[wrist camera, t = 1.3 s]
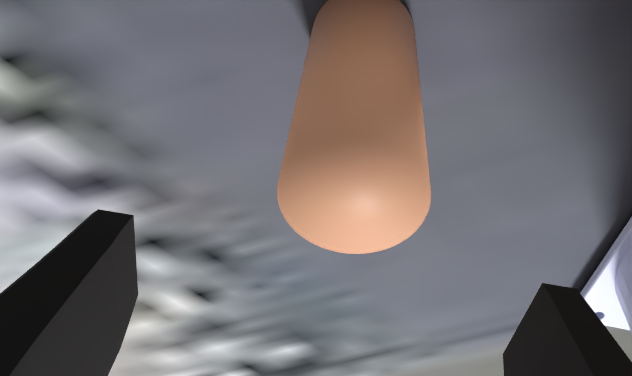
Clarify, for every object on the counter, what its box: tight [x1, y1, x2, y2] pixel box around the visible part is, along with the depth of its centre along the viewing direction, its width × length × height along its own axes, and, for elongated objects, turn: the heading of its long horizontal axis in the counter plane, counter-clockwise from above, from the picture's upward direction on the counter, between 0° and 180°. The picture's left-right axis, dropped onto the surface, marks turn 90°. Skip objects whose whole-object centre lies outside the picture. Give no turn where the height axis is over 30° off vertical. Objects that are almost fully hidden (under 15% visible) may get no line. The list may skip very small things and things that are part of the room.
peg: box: [277, 0, 431, 254], centre depth 16 cm, size 3×3×8 cm
